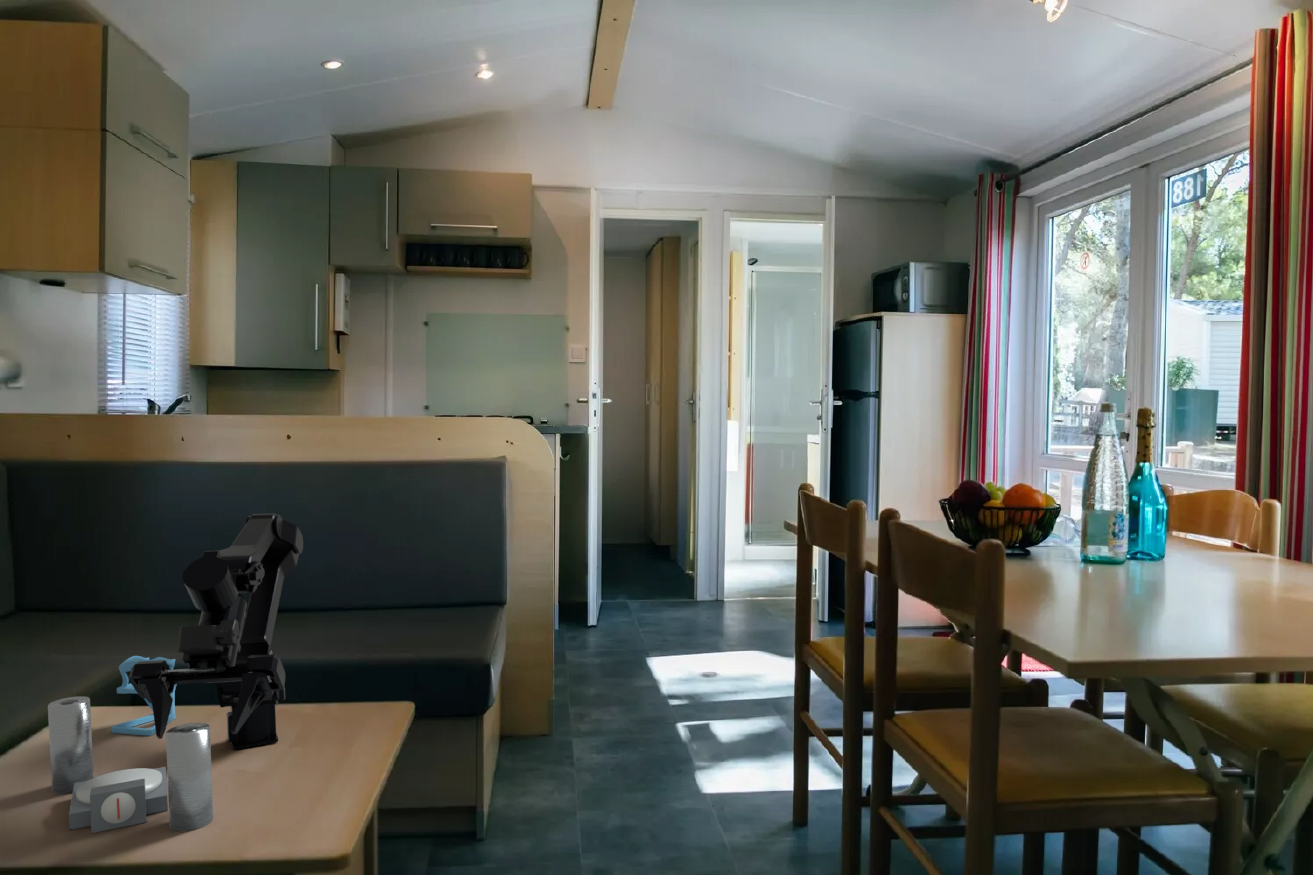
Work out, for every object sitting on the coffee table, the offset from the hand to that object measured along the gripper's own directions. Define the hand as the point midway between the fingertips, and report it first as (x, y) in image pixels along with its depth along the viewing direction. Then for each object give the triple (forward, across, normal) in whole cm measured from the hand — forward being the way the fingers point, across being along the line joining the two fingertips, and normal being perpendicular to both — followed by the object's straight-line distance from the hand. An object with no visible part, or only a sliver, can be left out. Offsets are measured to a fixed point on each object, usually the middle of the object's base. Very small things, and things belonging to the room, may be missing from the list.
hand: (196, 734), depth 123 cm
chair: (-19, -19, +33) cm, 42 cm away
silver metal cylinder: (+9, 0, +5) cm, 11 cm away
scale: (+5, -11, +9) cm, 15 cm away
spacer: (-1, -20, +16) cm, 26 cm away
